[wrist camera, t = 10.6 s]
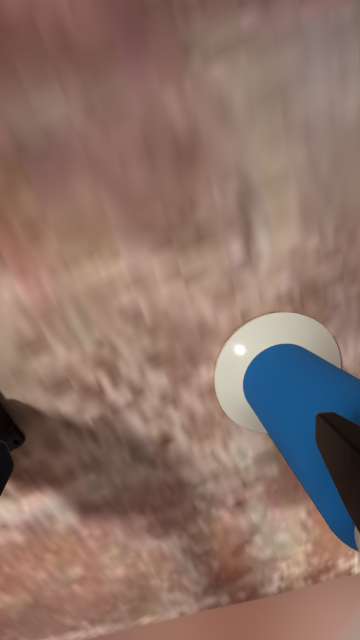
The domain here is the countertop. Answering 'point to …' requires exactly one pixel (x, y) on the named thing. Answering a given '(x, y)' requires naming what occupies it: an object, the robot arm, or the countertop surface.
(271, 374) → the beverage can
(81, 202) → the countertop surface
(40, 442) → the countertop surface
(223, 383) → the white round disc
